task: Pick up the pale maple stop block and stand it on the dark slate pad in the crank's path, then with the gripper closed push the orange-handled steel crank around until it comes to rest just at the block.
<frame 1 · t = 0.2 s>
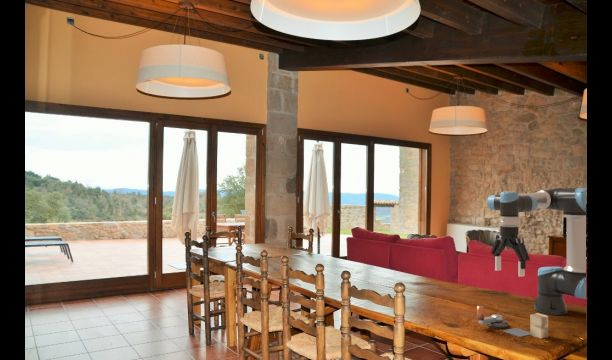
hand: (509, 273, 199), 27 cm above the table, fingers open, 13 cm apart
crank: (489, 313, 207), point 6 cm above the table, hinge at 0.0°
crank base: (497, 325, 209), on the table
stop block: (539, 335, 195), on the table
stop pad: (517, 332, 199), on the table
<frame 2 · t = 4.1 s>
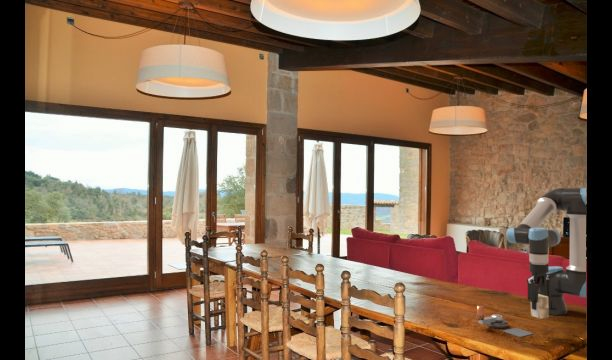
hand: (539, 315, 196), 9 cm above the table, fingers closed on stop block, 5 cm apart
stop block: (539, 316, 196), point 8 cm above the table, touching gripper
everything else where it was.
when the fingers open (1 cm above the table, at t = 8.0 s): stop block stays where it is, resting on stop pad.
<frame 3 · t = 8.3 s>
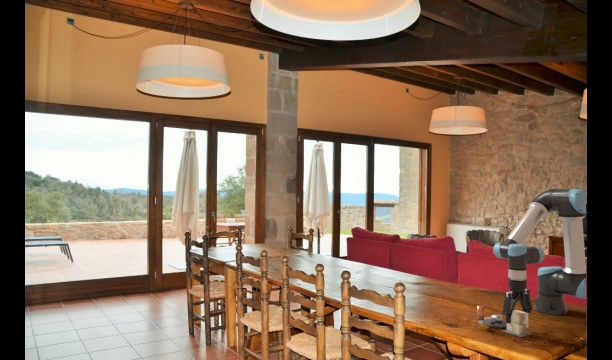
hand: (517, 328, 199), 2 cm above the table, fingers open, 9 cm apart
stop block: (517, 332, 199), resting on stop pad
everything else where it was.
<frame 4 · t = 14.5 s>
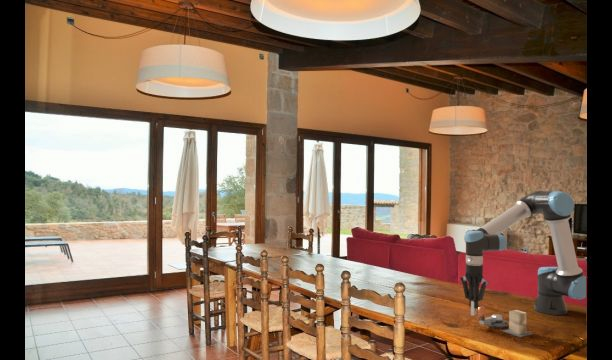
hand: (473, 314, 206), 6 cm above the table, fingers closed
crank: (490, 313, 207), point 6 cm above the table, hinge at 2.5°, touching gripper
everything else where it was.
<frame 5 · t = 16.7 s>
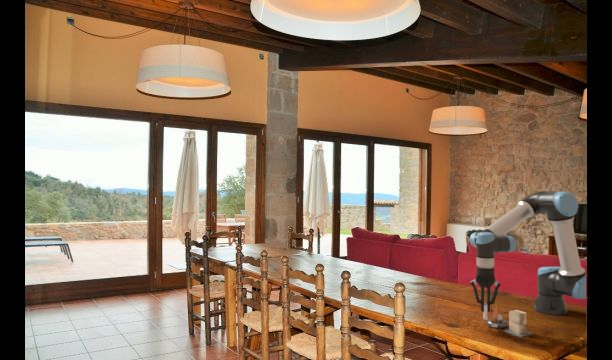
hand: (485, 318, 201), 6 cm above the table, fingers closed
crank: (495, 314, 205), point 6 cm above the table, hinge at 34.0°, touching gripper
everything else where it was.
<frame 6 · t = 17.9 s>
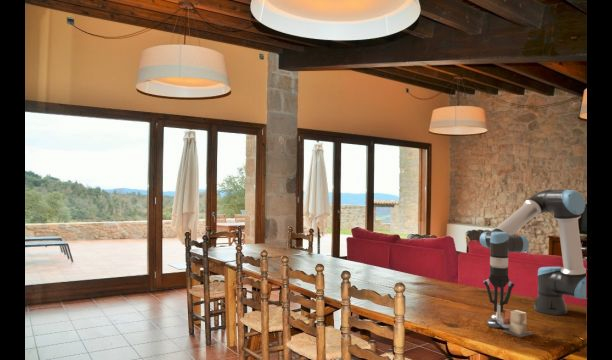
hand: (498, 318, 199), 6 cm above the table, fingers closed
crank: (501, 315, 204), point 6 cm above the table, hinge at 61.2°, touching gripper
everything else where it was.
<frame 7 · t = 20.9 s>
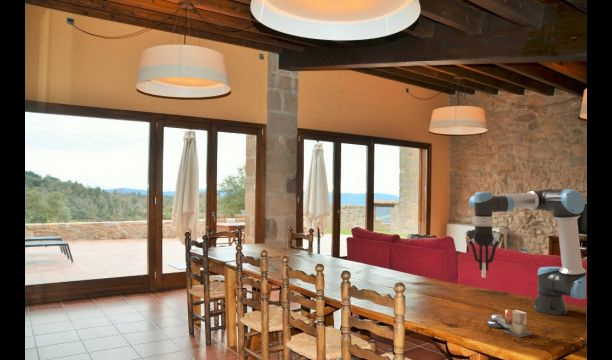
hand: (483, 277, 202), 24 cm above the table, fingers closed
crank: (502, 315, 204), point 6 cm above the table, hinge at 65.8°
everything else where it was.
at the end: crank at +66° (first picture: +0°); stop block inside the target area (0.0 cm from its centre), resting on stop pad; stop block tilted 0° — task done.
